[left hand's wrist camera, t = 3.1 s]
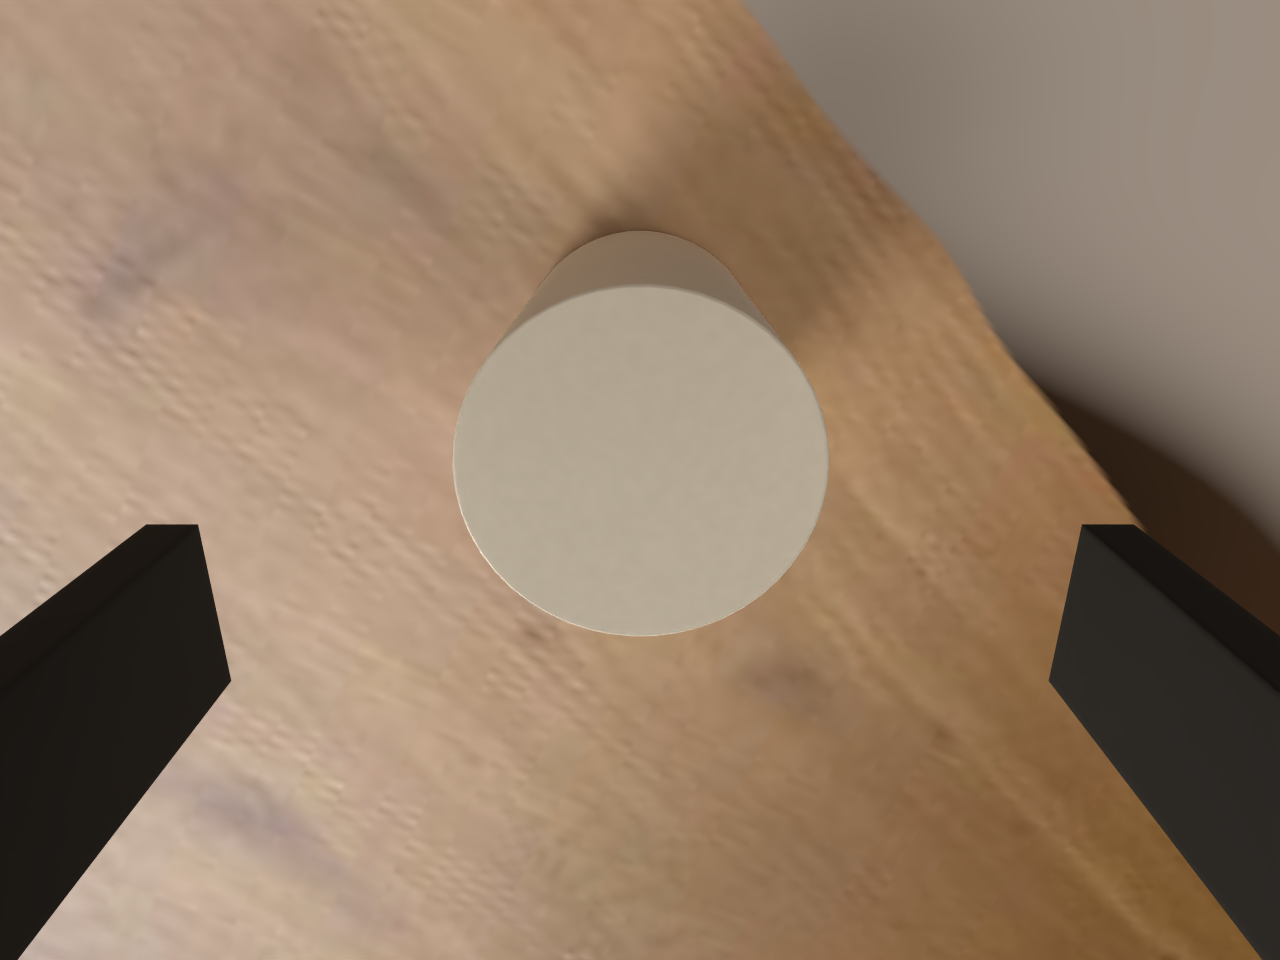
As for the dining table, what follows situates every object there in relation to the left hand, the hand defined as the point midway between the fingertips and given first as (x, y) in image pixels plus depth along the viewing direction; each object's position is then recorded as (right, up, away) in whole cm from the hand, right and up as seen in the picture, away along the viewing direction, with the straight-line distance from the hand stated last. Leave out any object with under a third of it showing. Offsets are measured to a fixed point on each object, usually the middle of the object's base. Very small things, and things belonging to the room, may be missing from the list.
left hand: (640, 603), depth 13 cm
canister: (0, +6, +16) cm, 18 cm away
